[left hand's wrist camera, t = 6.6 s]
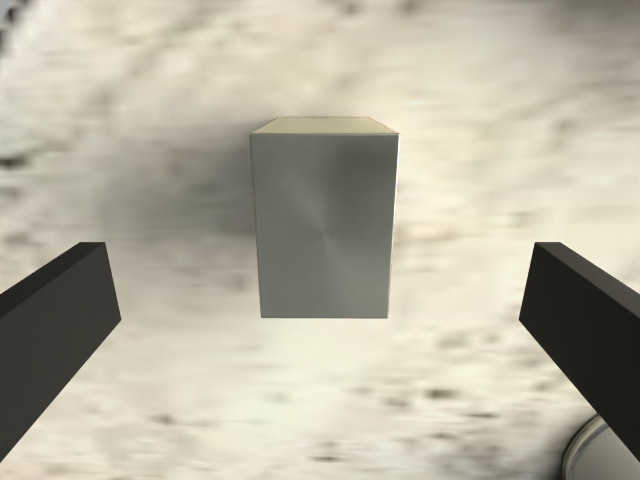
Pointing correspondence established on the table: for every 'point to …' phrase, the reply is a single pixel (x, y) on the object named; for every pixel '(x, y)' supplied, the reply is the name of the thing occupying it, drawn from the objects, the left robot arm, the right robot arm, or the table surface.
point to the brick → (324, 216)
